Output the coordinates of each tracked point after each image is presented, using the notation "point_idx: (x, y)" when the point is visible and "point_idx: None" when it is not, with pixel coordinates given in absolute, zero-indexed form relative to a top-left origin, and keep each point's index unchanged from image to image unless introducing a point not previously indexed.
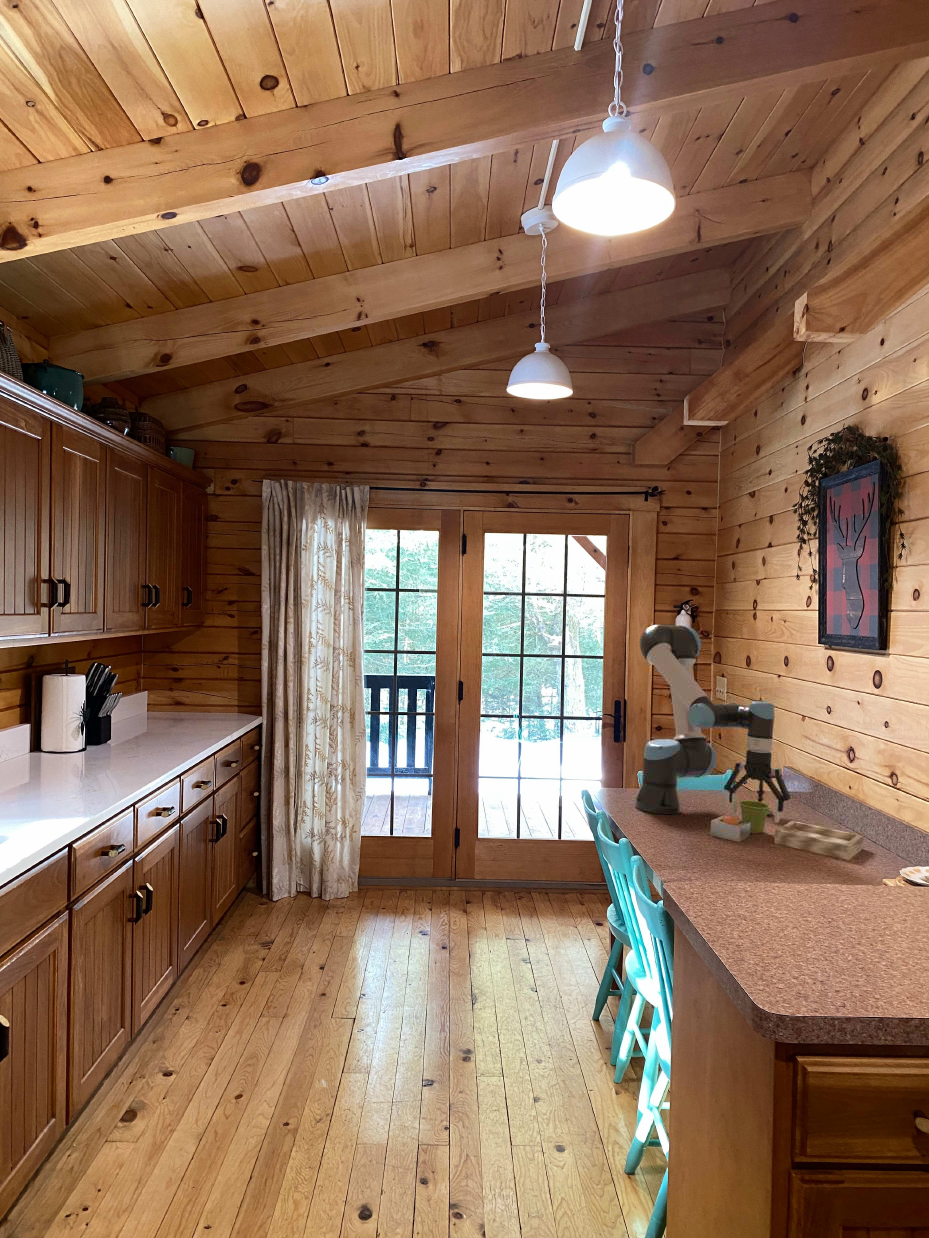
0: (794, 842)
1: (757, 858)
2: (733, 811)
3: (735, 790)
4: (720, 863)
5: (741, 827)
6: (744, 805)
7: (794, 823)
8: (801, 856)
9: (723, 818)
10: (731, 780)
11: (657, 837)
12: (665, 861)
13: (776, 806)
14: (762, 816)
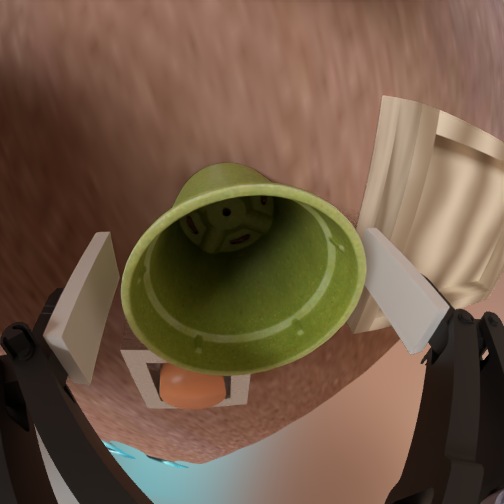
0: None
1: (304, 404)
2: (116, 287)
3: (50, 367)
4: (258, 440)
5: (246, 395)
6: (206, 373)
7: (430, 159)
8: (389, 338)
9: (173, 403)
10: (40, 474)
11: (111, 424)
12: (199, 459)
13: (401, 328)
14: (300, 289)
